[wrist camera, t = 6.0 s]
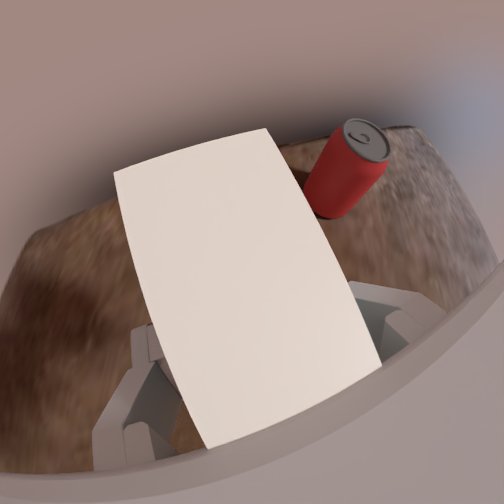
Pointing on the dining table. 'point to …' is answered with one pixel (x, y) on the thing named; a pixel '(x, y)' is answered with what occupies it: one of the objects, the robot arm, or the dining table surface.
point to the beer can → (347, 168)
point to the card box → (241, 285)
